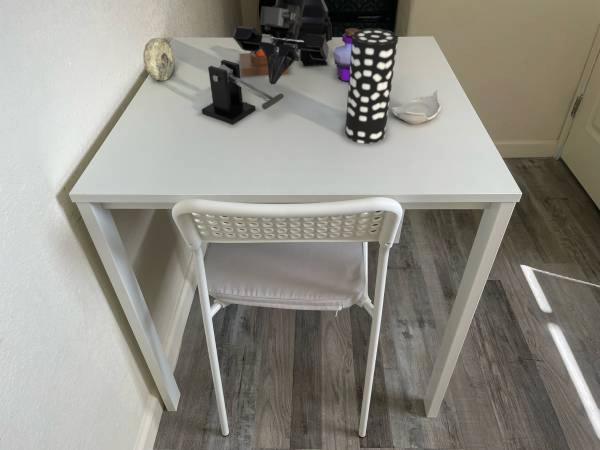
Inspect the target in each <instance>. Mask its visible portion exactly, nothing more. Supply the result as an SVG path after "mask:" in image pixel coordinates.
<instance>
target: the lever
mask: <svg viewBox="0 0 600 450" xmlns="http://www.w3.org/2000/svg"><path fill="white" fill-rule="evenodd" d="M217 68H220V69H224V70H227V77H228V82H229V81H231V82H233V83H235V84H237V85H238V86H240V87H241V88H242V89H243V90H245V91H247V92H249V93H251V94H252V95H254V96H256V97H257V98H259V99H261V100H263V101H264V103H262V104H261V108H262V110H267V109H269V108H271V107H273V106H274V105H275V104H277V103H278V102H280V101H281V100H283V99H284V94H283V93H282V92H281V93H278V94H276V95H275V96H272V95H270V94H268V93H266V92H265V91H263V90H261V89H259V88H258V87H256V86H254V85H252V84H251V83H249V82H247V81H245V80H243V79H242V78H241V77H240V78H241V79H240V78H238V77H236V76H235V75H233V69H231V68H229V67H227V66H225V65H224V64H223V65H221V64H220V65H219V66H217Z"/></svg>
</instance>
